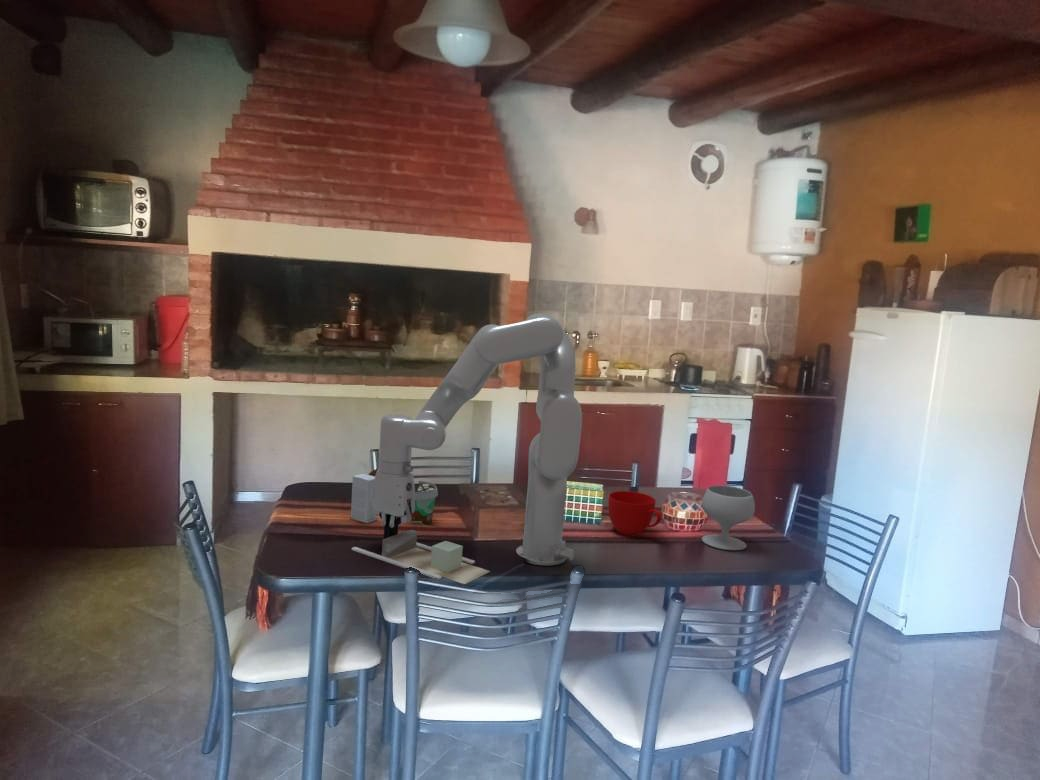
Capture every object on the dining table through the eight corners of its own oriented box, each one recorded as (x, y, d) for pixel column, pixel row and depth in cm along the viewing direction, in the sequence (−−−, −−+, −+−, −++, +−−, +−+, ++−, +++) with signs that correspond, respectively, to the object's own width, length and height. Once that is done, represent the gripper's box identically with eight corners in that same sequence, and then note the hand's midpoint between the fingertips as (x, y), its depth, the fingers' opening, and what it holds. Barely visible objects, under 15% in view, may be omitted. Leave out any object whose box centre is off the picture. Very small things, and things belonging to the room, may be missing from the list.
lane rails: (474, 567, 179) (475, 560, 178) (437, 584, 167) (438, 577, 167) (390, 540, 192) (391, 534, 192) (351, 554, 181) (351, 548, 180)
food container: (432, 530, 202) (435, 494, 201) (409, 528, 202) (411, 492, 201) (438, 516, 214) (441, 481, 213) (417, 514, 214) (419, 480, 213)
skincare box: (377, 520, 207) (379, 477, 205) (366, 523, 203) (369, 480, 201) (360, 515, 210) (362, 473, 208) (349, 518, 206) (351, 475, 204)
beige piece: (490, 575, 174) (491, 554, 173) (464, 588, 166) (465, 566, 165) (409, 549, 187) (410, 529, 186) (381, 560, 178) (382, 539, 177)
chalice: (750, 540, 215) (757, 489, 213) (749, 556, 202) (756, 501, 200) (699, 532, 219) (705, 481, 217) (695, 547, 206) (701, 493, 204)
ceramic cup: (641, 547, 202) (645, 511, 200) (595, 528, 215) (599, 494, 213) (672, 539, 210) (676, 504, 209) (627, 522, 223) (630, 488, 222)
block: (461, 566, 175) (462, 545, 174) (447, 572, 171) (449, 551, 170) (443, 561, 178) (445, 540, 177) (430, 567, 174) (431, 546, 173)
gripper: (429, 470, 180) (424, 545, 182) (381, 458, 187) (378, 530, 190) (408, 475, 173) (403, 553, 176) (360, 463, 181) (356, 537, 184)
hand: (390, 541), depth 183 cm, fingers closed
